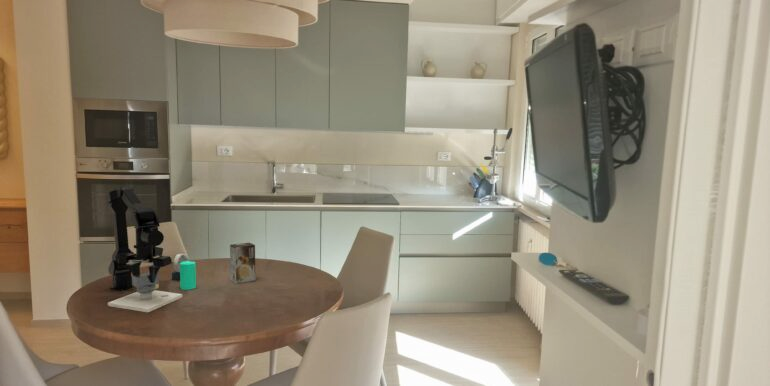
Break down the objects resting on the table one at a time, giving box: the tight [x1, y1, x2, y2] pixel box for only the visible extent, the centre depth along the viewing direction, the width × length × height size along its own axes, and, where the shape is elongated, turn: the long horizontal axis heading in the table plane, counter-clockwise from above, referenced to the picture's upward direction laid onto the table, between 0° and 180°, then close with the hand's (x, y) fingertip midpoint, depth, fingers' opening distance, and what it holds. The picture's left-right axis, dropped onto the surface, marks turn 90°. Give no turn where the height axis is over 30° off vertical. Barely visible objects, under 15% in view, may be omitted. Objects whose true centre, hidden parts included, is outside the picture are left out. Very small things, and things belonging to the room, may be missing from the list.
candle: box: [179, 259, 197, 290], centre depth 207 cm, size 6×6×12 cm
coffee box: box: [229, 242, 257, 285], centre depth 219 cm, size 9×6×16 cm
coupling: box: [131, 271, 160, 293], centre depth 189 cm, size 8×6×6 cm
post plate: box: [107, 289, 183, 313], centre depth 190 cm, size 18×18×4 cm
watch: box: [171, 253, 190, 281], centre depth 219 cm, size 6×8×11 cm
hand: (145, 282), depth 189 cm, fingers closed on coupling, 6 cm apart
